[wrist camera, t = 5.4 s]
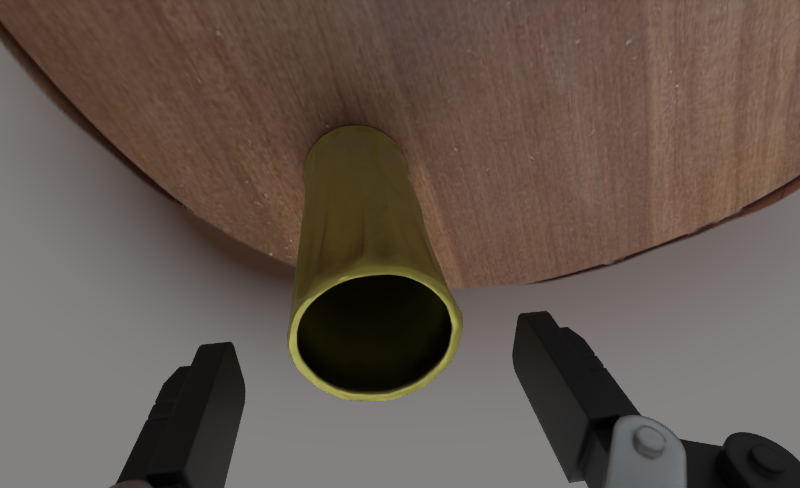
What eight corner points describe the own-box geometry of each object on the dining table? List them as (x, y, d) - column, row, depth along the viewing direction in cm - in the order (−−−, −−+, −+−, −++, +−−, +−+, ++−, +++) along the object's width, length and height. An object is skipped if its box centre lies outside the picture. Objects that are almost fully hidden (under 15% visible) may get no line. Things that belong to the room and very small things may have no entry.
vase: (363, 239, 27) (387, 435, 14) (282, 183, 24) (226, 361, 12) (427, 169, 25) (518, 322, 12) (348, 100, 22) (363, 207, 10)
